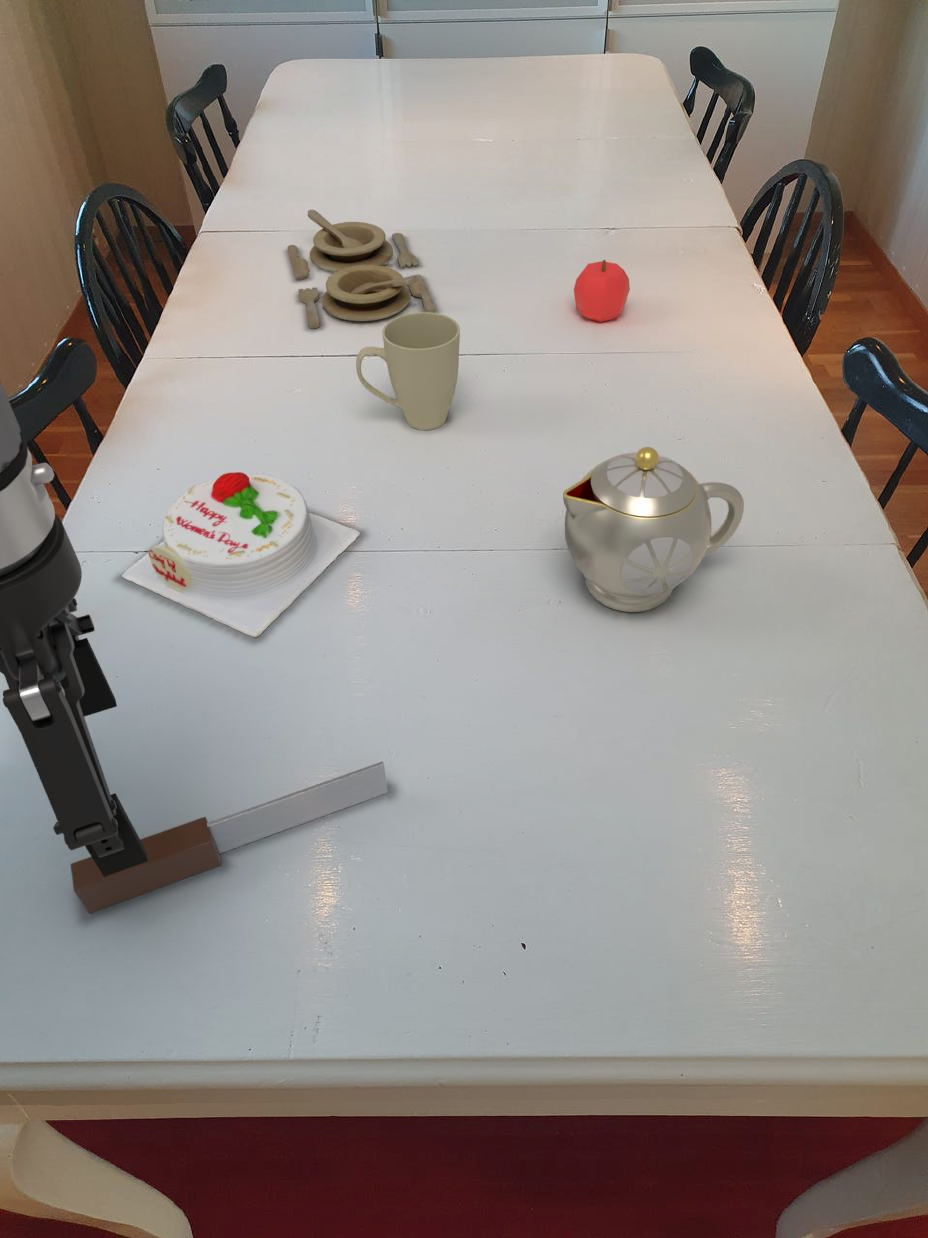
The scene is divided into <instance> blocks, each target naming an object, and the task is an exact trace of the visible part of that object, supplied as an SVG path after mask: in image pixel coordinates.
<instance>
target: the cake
mask: <svg viewBox="0 0 928 1238" xmlns="http://www.w3.org/2000/svg"><path fill="white" fill-rule="evenodd" d="M162 521H163V522H162V537H163V540H162V541H161V542H160V543H159V544H154V545H152V546H151V547H150V548H149V549H148V552H147V553H146V554H145V555H144V556H142V557H140V559H139V560H138V561H136V562H135V563H133V564H132V565H131V566H129V568H127V569H126V570H125V571H124V572H123V574H122V575H121V577H120V578H123V579H125V580H127V581H129V582H132V583H134V584H136V585H138V586H139V587H143V588H145V589H147V590H149V591H151V592H153V593H156V594H157V595H160V596H162V597H164V598H166V599H169V600H170V601H172V602H174V603H177V604H180V605H182V606H183V607H184V608H187V609H191V610H193V611H194V612H198V613H200V614H202V615H203V616H206V617H208V618H210V619H212V620H214V621H216V622H219V623H221V624H223V625H226V626H228V627H230V628H232V629H234V630H236V631H238V632H241V633H243V634H244V635H247V636H249V637H252V638H254V639H256V638H258V637H260V636H261V635H262V633H263V632H264V631H265V630H266V629H267V628H268V627H269V626H270V625H271V624H272V623H273V622H274V621H275V620H277V618H278V617H279V616H281V614H282V613H283V612H285V610H286V609H287V608H289V606H291V605H292V603H294V601H295V600H296V599H297V598H298V597H299V596H300V595H301V594H302V593H303V592H304V591H305V590H306V589H308V588H309V587H310V585H312V583H313V582H314V581H315V580H316V579H317V578H318V577H319V576H320V575H321V574H322V573H323V572H324V571H325V570H326V569H327V568H328V567H329V566H330V565H331V564H332V563H333V562H335V560H336V559H337V558H338V556H339V555H341V554H342V553H343V552H344V551H345V550H346V549H347V548H348V547H349V546H350V545H352V544H353V543H354V542H355V541H356V539H357V538H358V537H359V536H360V535H361V532H360V531H359V530H357V529H354V528H351V527H348V526H346V525H343V524H341V523H338V522H335V521H332V520H329V519H328V518H325V517H323V516H319V515H318V514H317V515H316V514H315V513H312V512H309V508H308V505H307V501H306V499H305V497H304V494H302V492H301V491H300V490H299V489H298V488H297V487H296V486H294V485H293V484H291V483H289V482H288V481H286V480H283V479H281V478H279V477H275V476H272V475H269V474H264V473H244V472H241V471H237V472H236V471H235V472H234V471H233V472H226V473H223V474H221V475H220V476H219V477H217V478H214V479H210V480H207V481H205V482H202V483H200V484H196V485H192V486H191V487H190V488H188V489H187V490H186V491H185V492H183V494H182V495H180V496H179V497H178V498H176V500H175V501H174V502H173V504H172V505H171V506H170V507H168V510H167V511H166V514H165V515H164V518H163V520H162Z"/></svg>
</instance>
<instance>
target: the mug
mask: <svg viewBox="0 0 928 1238" xmlns="http://www.w3.org/2000/svg"><path fill="white" fill-rule="evenodd" d="M381 334H382V340H383V341H382V342H383V347H378V346H366V347H363V348H362V349H360V350H359V352H358V354H357V356H356V361H355V368H356V374H357V377H358V380H359V382H360V383H361V385H362V387H364V388H365V389H366V390H367V391H368V392H370V394H372V395H374V396H375V397H378V398H379V399H380V400H382V401H384V402H385V403H387V404H389V405H390V406H393V407H398V408H400V409H401V411H402V413H403V415H404V419H405V420H406V422H407V424H408V426H410V427H411V428H412V429H415V430H420V431H432V430H435V429H438V428H440V427H442V426H443V425H444V424H445V423H446V420H447V417H448V414H449V411H450V407H451V404H452V401H453V398H454V394H455V391H456V388H457V383H458V377H459V376H458V375H459V366H460V365H459V364H460V363H459V362H460V343H461V342H460V340H461V339H460V338H461V337H460V336H461V327H460V325H459V323H458V322H457V321H456V320H455V319H453V318H452V317H450V316H448V315H445V314H443V313H437V312H434V313H431V312H426V311H418V312H410V313H406V314H401V315H399V316H396V317H394V318H392V319H390V320H389V321H388V322H387V323H386V324H384V326H383V328H382V333H381ZM368 355H372V356H376V357H379V358H380V359H382V360H383V361H384V362H385V364H386V365H387V371H388V376H389V379H390V380H389V381H390V384H391V387H392V391H393V393H394V396H395V398H392V397H390V396H388V395H387V394H385V393H383V392H382V391H380V390H378V388H376V387H375V386H373V385H372V384H370V383H369V382H368V381H367V380H366V379H365V378H364V375H363V373H362V362H363V360H364V358H365V357H366V356H368Z"/></svg>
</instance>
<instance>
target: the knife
mask: <svg viewBox="0 0 928 1238" xmlns="http://www.w3.org/2000/svg"><path fill="white" fill-rule="evenodd" d="M388 793H389V789H388V783H387V777H386V769H385V763H384V761H383V760H382V761H379V762H377V763H374V764H371V765H368V766H365V767H362V768H360V769H357V770H355V771H352V772H348V773H345V774H343V775H340V776H338V777H334V778H332V779H329V780H325V781H323V782H320V783H317V784H314V785H312V786H309V787H306V788H303V789H300V790H298V791H295V792H292V793H289V794H286V795H284V796H280V797H278V798H275V799H272V800H269V801H267V802H263V803H261V804H258V805H255V806H252V807H249V808H247V809H244V810H241V811H239V812H235V813H233V814H230V815H227V816H225V817H221V818H219V819H215V820H213V821H210V822H209V821H208V819H207V817H206V816H202V817H200V818H197V819H194V820H191V821H188V822H185V823H183V824H180V825H177V826H174V827H171V828H169V829H166V830H163V831H160V832H157V833H154V834H151V835H148V836H146V837H143V838H140V840H141V842H142V844H143V846H144V848H145V850H146V852H147V857H148V861H147V862H144V863H142V864H139V865H136V866H133V867H131V868H128V869H125V870H122V871H120V872H117V873H114V874H111V875H109V876H106V877H104V876H103V875H102V873H101V871H100V870H99V868H98V866H97V865H96V863H95V862H94V860H93V858H92V857H91V856H89V857H86V858H83V859H80V860H78V861H75V862H72V863H70V872H71V873H70V874H71V879H72V880H71V881H72V888H73V892H74V893H75V895H76V896H77V898H78V899H79V901H80V902H81V905H83V907H84V908H85V910H86V912H87V913H88V914H93V913H95V912H99V911H100V910H103V909H106V908H108V907H111V906H114V905H117V904H119V903H122V902H125V901H128V900H130V899H133V898H137V897H139V896H142V895H144V894H146V893H150V892H152V891H156V890H158V889H160V888H163V887H167V886H169V885H171V884H173V883H176V882H180V881H182V880H185V879H188V878H190V877H194V876H196V875H198V874H201V873H205V872H206V871H210V870H212V869H215V868H217V867H220V866H222V860H221V857H220V855H221V854H223V853H226V852H229V851H231V850H234V849H237V848H241V847H242V846H246V845H247V844H250V843H253V842H256V841H258V840H259V841H260V840H263V839H264V838H267V837H269V836H273V835H276V834H279V833H281V832H283V831H286V830H289V829H292V828H295V827H298V826H300V825H303V824H306V823H308V822H311V821H313V820H317V819H319V818H322V817H324V816H328V815H330V814H333V813H336V812H339V811H341V810H344V809H347V808H350V807H352V806H355V805H358V804H361V803H364V802H367V801H369V800H371V799H374V798H377V797H380V796H383V795H385V794H388Z"/></svg>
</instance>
